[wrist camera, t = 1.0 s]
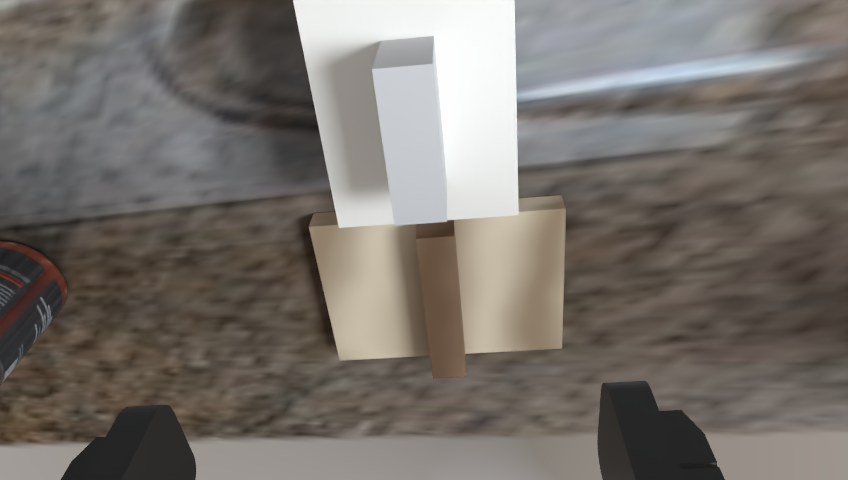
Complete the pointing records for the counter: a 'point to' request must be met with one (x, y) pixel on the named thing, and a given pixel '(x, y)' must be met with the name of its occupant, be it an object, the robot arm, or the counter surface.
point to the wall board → (487, 278)
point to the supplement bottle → (26, 300)
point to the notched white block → (414, 107)
